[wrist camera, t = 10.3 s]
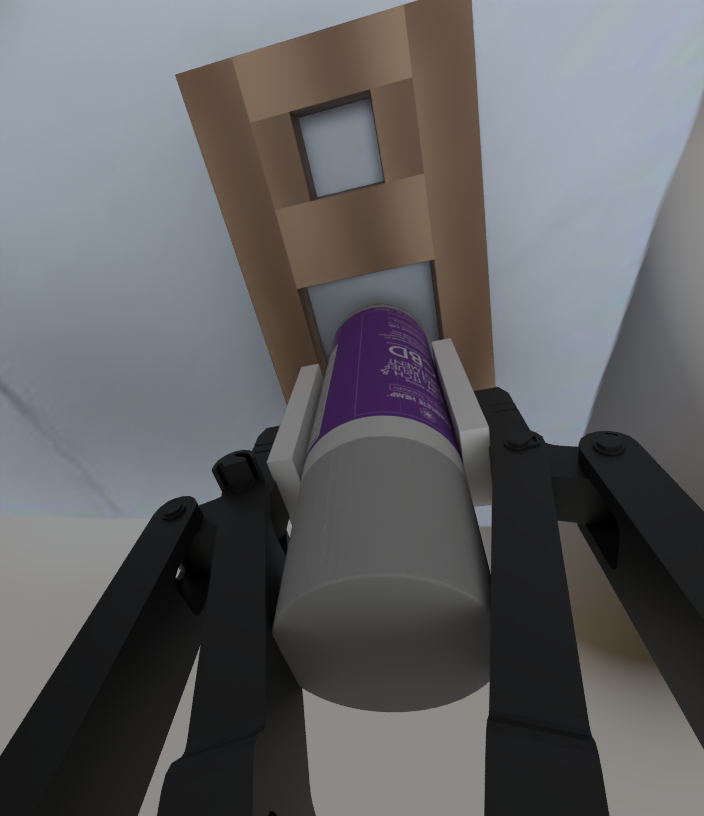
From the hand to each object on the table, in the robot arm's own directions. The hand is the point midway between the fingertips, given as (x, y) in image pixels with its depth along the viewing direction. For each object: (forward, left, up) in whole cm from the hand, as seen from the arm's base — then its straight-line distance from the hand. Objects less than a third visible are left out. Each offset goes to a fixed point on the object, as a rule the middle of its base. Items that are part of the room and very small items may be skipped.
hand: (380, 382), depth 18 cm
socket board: (0, +4, -8) cm, 9 cm away
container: (0, 0, -4) cm, 4 cm away
